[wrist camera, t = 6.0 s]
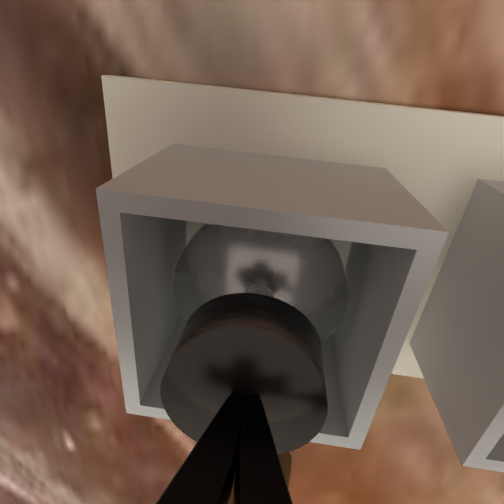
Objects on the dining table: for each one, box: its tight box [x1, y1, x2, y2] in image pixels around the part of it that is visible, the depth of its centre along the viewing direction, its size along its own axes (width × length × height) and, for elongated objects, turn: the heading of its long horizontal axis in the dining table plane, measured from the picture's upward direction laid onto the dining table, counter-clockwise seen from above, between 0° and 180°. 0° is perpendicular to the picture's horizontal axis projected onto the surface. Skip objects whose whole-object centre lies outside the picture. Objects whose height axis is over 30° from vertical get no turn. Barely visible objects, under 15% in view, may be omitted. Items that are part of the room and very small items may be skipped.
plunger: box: [160, 223, 348, 455], centre depth 11 cm, size 7×7×6 cm
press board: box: [96, 75, 504, 472], centre depth 14 cm, size 28×14×8 cm, turn 85°
